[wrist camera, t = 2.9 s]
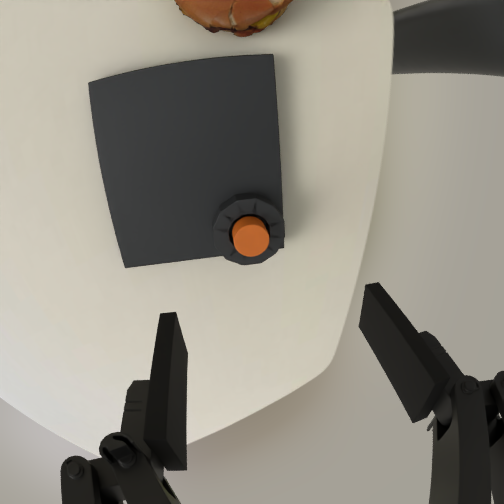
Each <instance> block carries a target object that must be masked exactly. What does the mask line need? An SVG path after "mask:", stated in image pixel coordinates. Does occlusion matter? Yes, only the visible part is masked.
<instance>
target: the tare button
mask: <svg viewBox="0 0 504 504" xmlns="http://www.w3.org/2000/svg"><path fill="white" fill-rule="evenodd" d="M232 235H233V241H234V246H235V248H236V250H237V251H238V252H239V253H240V254H242V255H244V256H248V257H253V256H257V255H260V254H261V253H263V252H264V251H265V250H266V248H267V247H268V244H269V234H268V232H267V230H266V227H265V225H264V223H263V222H262V221H261V220H260V219H258V218H256V217H253V216H247V217H243V218H241V219H239V220H238V221H237V222H236V223H235V225H234V227H233V230H232Z"/></svg>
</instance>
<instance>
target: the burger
mask: <svg viewBox="0 0 504 504" xmlns="http://www.w3.org/2000/svg"><path fill="white" fill-rule="evenodd" d="M292 1H293V0H175V2H176V5H179V9H180V10H181V11H182V13H183V15H186V16H188V17H190V18H192V19H193V20H194V21H195V22H197V23H198V24H201V25H202V26H203V27H204V28H205V29H206V30H209V31H210V32H212V33H216V32H219V30H224V31H228V32H232V33H234V34H233V35H236V36H238V37H246V36H250V35H252V34H253V33H257V32H261V31H262V30H264V29H265V28H266V27H267V26H269V25H272V24H273V22H274V21H275V20H277V19H278V18H279V17H280V16H281V15H282V14H283V13H284V11H285V10H286V8H287V6H288V4H289V3H291V2H292Z"/></svg>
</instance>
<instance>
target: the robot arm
mask: <svg viewBox="0 0 504 504" xmlns="http://www.w3.org/2000/svg"><path fill="white" fill-rule="evenodd" d="M359 328H360V330H361V331H362V333H363V334H364V336H365V338H366V340H367V342H368V343H369V345H370V347H371V348H372V350H373V352H374V354H375V355H376V357H377V359H378V361H379V362H380V364H381V366H382V368H383V369H384V371H385V373H386V375H387V377H388V378H389V380H390V382H391V384H392V386H393V387H394V389H395V391H396V393H397V395H398V396H399V398H400V400H401V402H402V404H403V406H404V408H405V410H406V411H407V413H408V415H409V417H410V419H411V421H412V423H415V422H417V421H420V420H422V419H424V418H427V417H428V415H429V414H430V412H431V411H432V410H433V412H434V414H435V417H434V418H433V420H432V421H431V423H430V424H429V426H428V428H427V431H429V430H430V429H431V428H432V426H433V430H432V431H433V456H432V477H431V489H430V499H429V504H491V491H492V495H493V500H494V504H504V371H501V372H499V373H497V375H496V376H495V378H494V379H493V380H487V381H478V380H477V379H476V378H474V377H472V376H467V375H466V376H465V375H464V374H463V373H462V372H461V371H460V369H459V368H458V366H457V365H456V364H455V362H454V361H453V360H452V358H451V357H450V356H449V354H448V353H446V350H445V349H444V348H443V347H442V346H441V344H440V343H439V341H438V340H437V339H436V338H435V336H433V335H432V334H430V333H429V332H427V331H424V332H421V333H418V332H417V330H416V329H415V328H414V327H413V325H412V324H411V322H410V321H409V320H408V319H407V317H406V316H405V315H404V314H403V312H402V311H401V310H400V308H399V307H398V306H397V304H396V303H395V302H394V301H393V299H392V298H391V297H390V296H389V295H388V293H387V292H386V291H385V289H384V288H383V287H382V286H381V285H380V283H379V282H377V283H372V284H367V285H365V291H364V298H363V305H362V310H361V316H360V322H359ZM187 364H188V352H187V349H186V345H185V342H184V339H183V335H182V332H181V328H180V325H179V321H178V317H177V314H176V312H170V313H160V317H159V323H158V329H157V335H156V341H155V347H154V354H153V361H152V367H151V375H150V380H136V381H133V382H132V384H131V385H130V387H129V388H128V390H127V395H126V400H125V401H126V403H125V406H124V412H123V418H122V424H121V431H120V432H115V433H111V434H109V435H107V436H106V437H105V438H104V439H103V440H102V441H101V443H100V447H99V452H100V455H101V456H102V458H98V459H93V460H89V461H88V460H86V459H85V458H83V457H81V456H71V457H69V458H67V459H66V460H65V461H64V462H63V464H62V466H61V493H62V504H123V500H126V501H127V504H181V503H180V501H179V500H178V498H177V496H176V495H175V493H174V491H173V490H172V488H171V486H170V485H169V483H168V481H167V479H166V478H165V477H164V476H163V472H164V467H165V468H166V469H167V471H180V470H187V450H186V447H187V445H186V411H187ZM499 413H500V414H501V417H502V418H500V416H499Z"/></svg>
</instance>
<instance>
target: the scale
mask: <svg viewBox="0 0 504 504" xmlns="http://www.w3.org/2000/svg"><path fill="white" fill-rule="evenodd" d="M88 85H89V95H90V104H91V112H92V119H93V126H94V133H95V139H96V145H97V151H98V157H99V162H100V168H101V173H102V178H103V183H104V188H105V192H106V197H107V201H108V206H109V210H110V214H111V218H112V222H113V226H114V230H115V234H116V238H117V241H118V245H119V249H120V252H121V256H122V259H123V263H124V266H125V268H130V267H138V266H146V265H154V264H162V263H170V262H178V261H185V260H193V259H201V258H209V257H217V256H224V258H225V259H227V260H229V261H232V262H235V263H238V264H241V265H250V264H258V263H262V262H264V261H265V260H267V259H268V258H270V257H271V256H273V255H274V254H276V252H277V251H278V249H281V248H284V237H285V227H284V219H283V203H282V181H281V161H280V143H279V126H278V110H277V96H276V82H275V69H274V57H273V54H262V55H242V56H228V57H217V58H207V59H199V60H191V61H184V62H178V63H171V64H165V65H160V66H155V67H149V68H144V69H140V70H135V71H131V72H126V73H122V74H118V75H114V76H110V77H106V78H103V79H99V80H96V81H92V82H89V83H88ZM247 216H253V217H256V218H258V219H260V220H261V221H262V222H263V223H264V225H265V227H266V230H267V232H268V234H269V244H268V247H267V248H266V250H265V251H264V252H263V253H261V254H260V255H257V256H253V257H248V256H244V255H242V254H240V253H239V252H238V251H237V250H236V248H235V246H234V241H233V235H232V230H233V227H234V225H235V223H236V222H237V221H238V220H239V219H241V218H243V217H247Z"/></svg>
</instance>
